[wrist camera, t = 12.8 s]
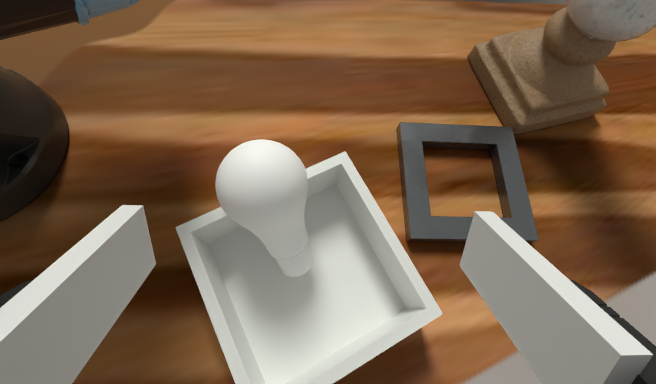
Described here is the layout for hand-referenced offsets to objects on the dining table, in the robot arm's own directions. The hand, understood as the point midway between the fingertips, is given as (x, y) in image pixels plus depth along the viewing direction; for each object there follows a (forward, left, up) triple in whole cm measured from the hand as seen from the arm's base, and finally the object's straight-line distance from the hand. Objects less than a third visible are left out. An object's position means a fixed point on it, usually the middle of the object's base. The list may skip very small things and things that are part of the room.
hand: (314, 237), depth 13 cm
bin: (0, 0, -14) cm, 14 cm away
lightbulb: (0, -1, -13) cm, 13 cm away
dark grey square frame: (-1, +17, -14) cm, 22 cm away
